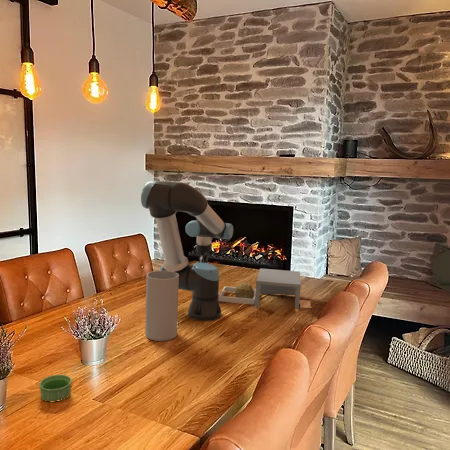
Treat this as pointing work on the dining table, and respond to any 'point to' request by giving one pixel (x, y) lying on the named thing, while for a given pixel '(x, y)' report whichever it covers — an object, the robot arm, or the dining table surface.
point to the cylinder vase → (161, 305)
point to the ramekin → (55, 387)
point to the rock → (244, 291)
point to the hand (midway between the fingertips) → (202, 287)
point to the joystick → (235, 299)
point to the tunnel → (278, 284)
